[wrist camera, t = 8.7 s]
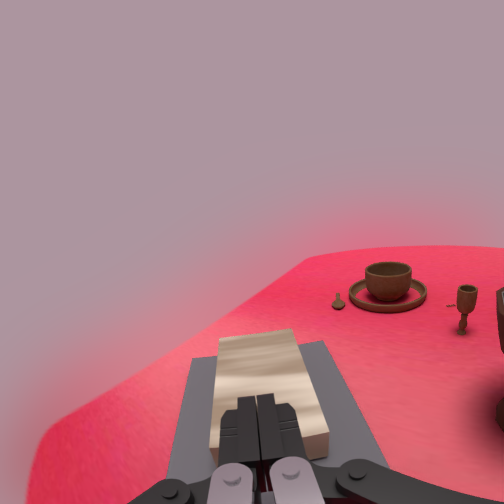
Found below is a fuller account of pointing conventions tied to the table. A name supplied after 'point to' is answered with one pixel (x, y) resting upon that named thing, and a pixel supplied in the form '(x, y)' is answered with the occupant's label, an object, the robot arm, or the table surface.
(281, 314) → the table surface
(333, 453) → the mat
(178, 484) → the robot arm
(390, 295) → the place setting
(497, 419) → the ice cream bowl
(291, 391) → the tile
